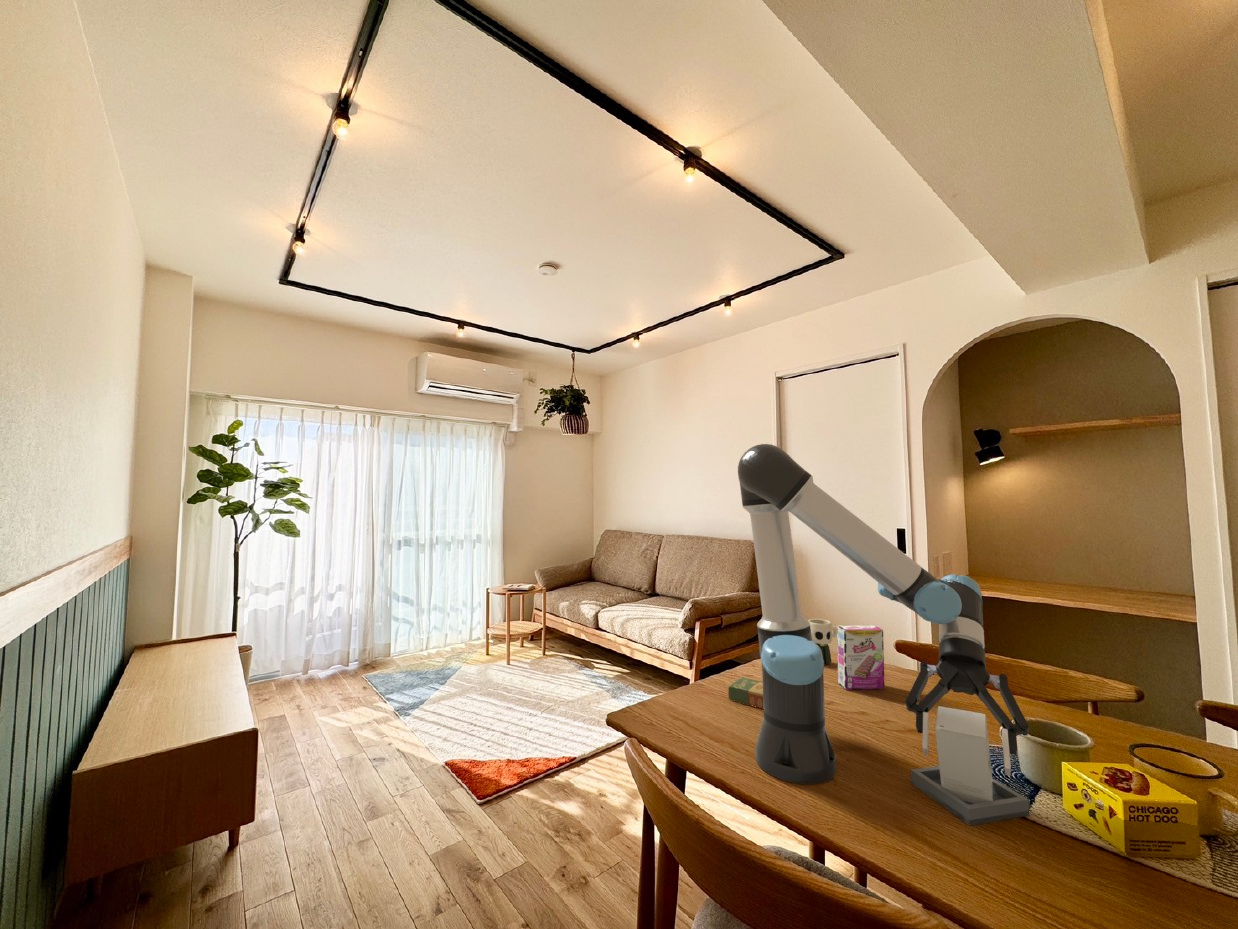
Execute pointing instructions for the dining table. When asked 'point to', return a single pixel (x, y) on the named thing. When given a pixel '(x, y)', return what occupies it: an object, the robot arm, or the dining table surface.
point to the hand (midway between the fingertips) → (965, 761)
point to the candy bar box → (860, 657)
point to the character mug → (822, 636)
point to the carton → (747, 692)
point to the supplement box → (964, 754)
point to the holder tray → (1000, 808)
